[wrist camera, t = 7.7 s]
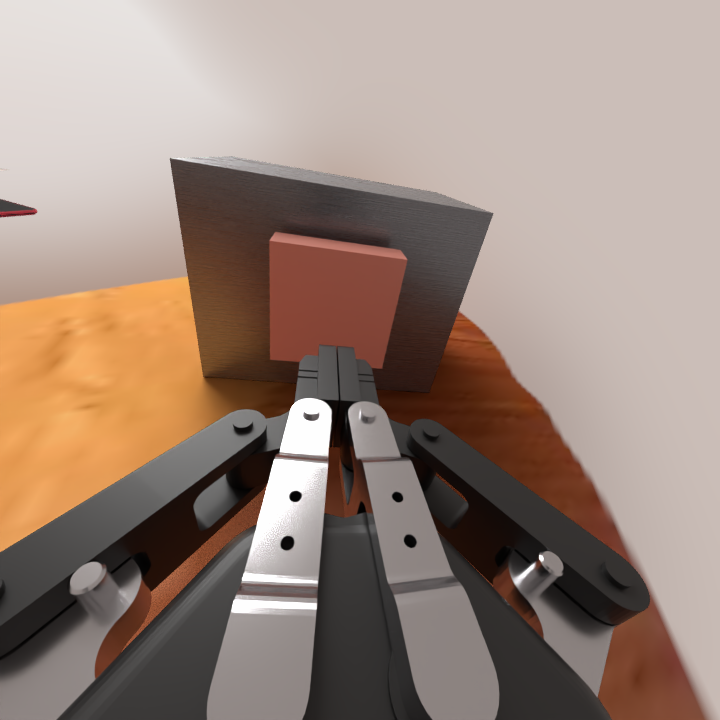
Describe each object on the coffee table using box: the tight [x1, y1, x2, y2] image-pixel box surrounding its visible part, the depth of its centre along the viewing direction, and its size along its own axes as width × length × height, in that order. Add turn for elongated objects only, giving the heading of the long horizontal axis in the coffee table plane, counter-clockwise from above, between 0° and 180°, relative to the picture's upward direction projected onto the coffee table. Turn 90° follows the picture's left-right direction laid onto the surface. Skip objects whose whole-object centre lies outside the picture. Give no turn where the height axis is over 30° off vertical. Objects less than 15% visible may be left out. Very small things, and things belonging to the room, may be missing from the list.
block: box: [170, 157, 493, 393], centre depth 26 cm, size 18×12×14 cm, turn 95°
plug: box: [269, 232, 407, 369], centre depth 23 cm, size 7×14×7 cm, turn 5°
